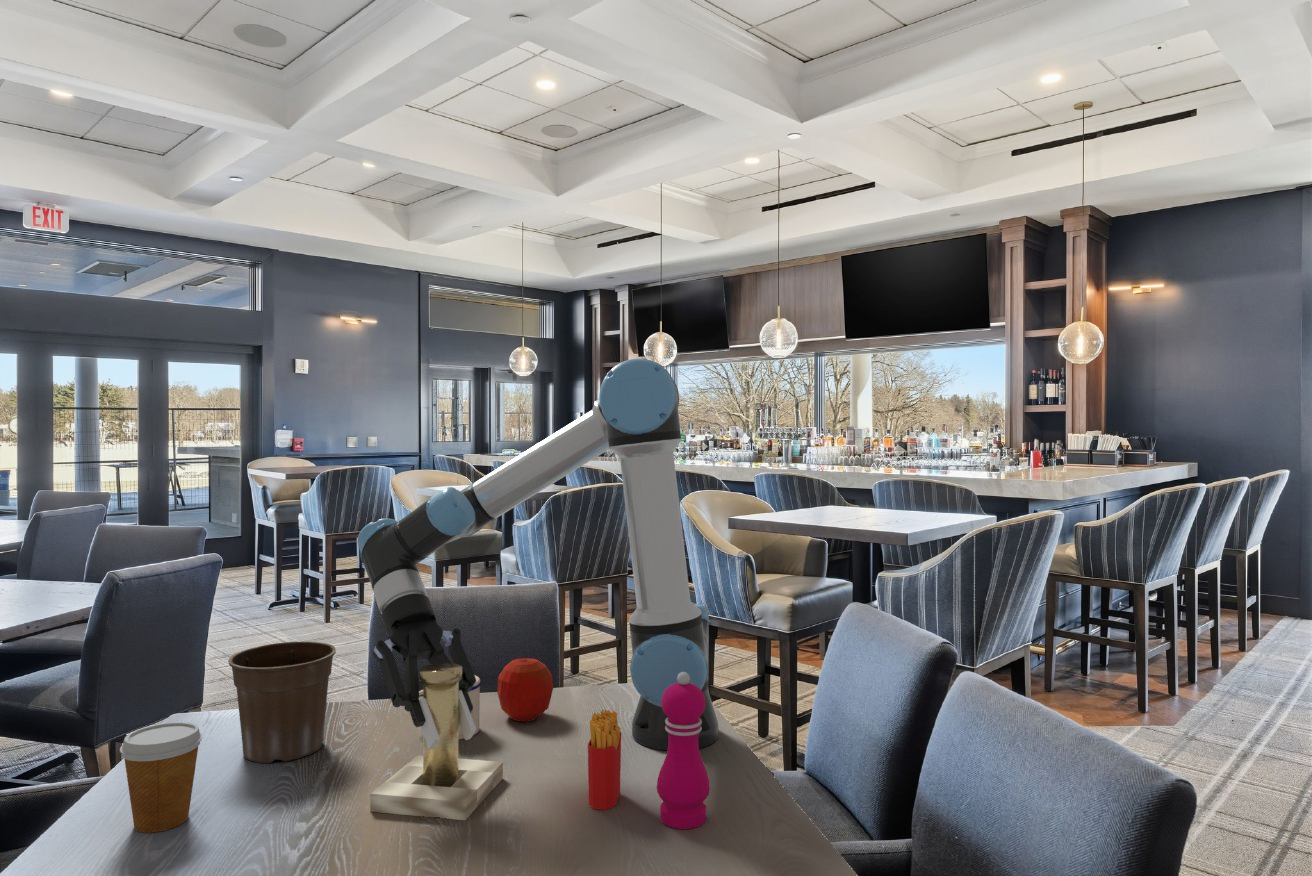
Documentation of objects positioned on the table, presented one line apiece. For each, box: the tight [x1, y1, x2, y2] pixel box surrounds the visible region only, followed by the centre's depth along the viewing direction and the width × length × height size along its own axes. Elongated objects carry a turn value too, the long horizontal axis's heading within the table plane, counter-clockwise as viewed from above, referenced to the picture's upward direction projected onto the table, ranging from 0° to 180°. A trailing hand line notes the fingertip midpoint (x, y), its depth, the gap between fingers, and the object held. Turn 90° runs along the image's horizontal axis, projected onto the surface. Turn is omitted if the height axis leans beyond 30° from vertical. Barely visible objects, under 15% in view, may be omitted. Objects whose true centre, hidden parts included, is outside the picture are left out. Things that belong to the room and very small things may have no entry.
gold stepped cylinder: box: [419, 662, 462, 787], centre depth 118 cm, size 6×6×16 cm
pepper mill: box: [656, 672, 711, 830], centre depth 111 cm, size 7×7×20 cm
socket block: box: [369, 755, 504, 821], centre depth 119 cm, size 14×14×2 cm
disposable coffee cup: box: [119, 721, 203, 834], centre depth 110 cm, size 10×10×12 cm
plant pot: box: [227, 641, 337, 764], centre depth 135 cm, size 16×16×16 cm
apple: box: [496, 655, 554, 723], centre depth 152 cm, size 10×10×12 cm
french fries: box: [587, 709, 622, 811], centre depth 117 cm, size 8×4×12 cm, turn 170°
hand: (452, 739), depth 115 cm, fingers closed on gold stepped cylinder, 5 cm apart
